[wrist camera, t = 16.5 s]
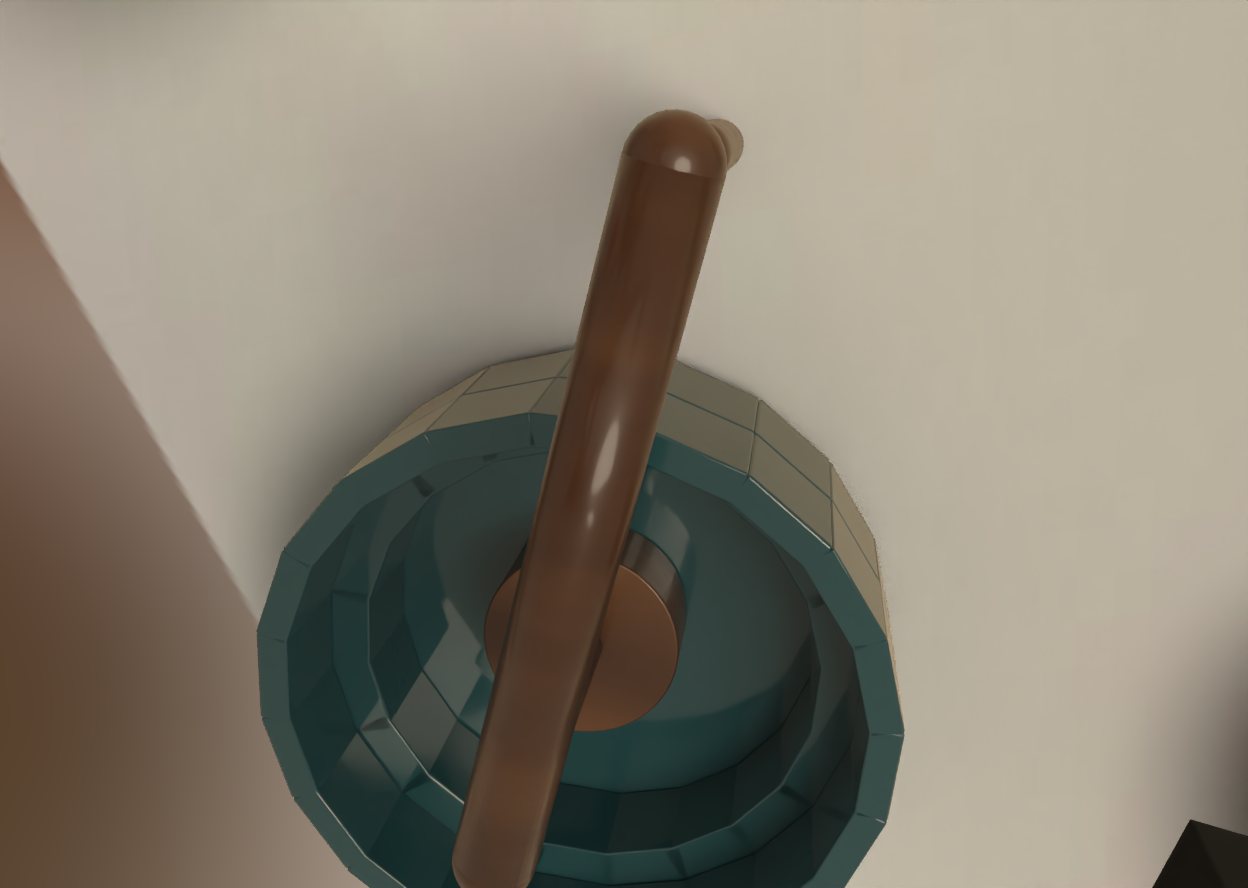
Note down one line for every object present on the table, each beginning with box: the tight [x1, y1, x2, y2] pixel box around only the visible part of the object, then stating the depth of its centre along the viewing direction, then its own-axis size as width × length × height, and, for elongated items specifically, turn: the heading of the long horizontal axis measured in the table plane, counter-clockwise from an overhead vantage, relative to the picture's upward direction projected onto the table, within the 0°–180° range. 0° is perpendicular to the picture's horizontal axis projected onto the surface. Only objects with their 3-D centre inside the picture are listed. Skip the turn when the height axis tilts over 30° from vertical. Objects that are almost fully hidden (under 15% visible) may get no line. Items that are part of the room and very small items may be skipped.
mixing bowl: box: [257, 349, 905, 888], centre depth 29 cm, size 16×16×6 cm
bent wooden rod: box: [452, 110, 743, 888], centre depth 24 cm, size 16×5×12 cm, turn 166°
